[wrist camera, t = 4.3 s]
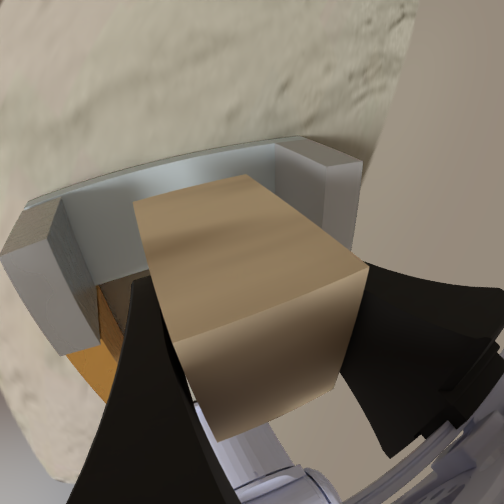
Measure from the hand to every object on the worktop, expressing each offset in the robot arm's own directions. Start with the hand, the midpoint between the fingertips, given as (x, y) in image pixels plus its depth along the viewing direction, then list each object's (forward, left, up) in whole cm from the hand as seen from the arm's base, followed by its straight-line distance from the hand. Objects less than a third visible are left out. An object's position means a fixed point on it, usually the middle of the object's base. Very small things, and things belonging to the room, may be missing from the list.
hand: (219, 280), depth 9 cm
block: (0, 0, -2) cm, 2 cm away
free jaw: (-3, +6, -6) cm, 9 cm away
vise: (0, 0, -6) cm, 6 cm away
